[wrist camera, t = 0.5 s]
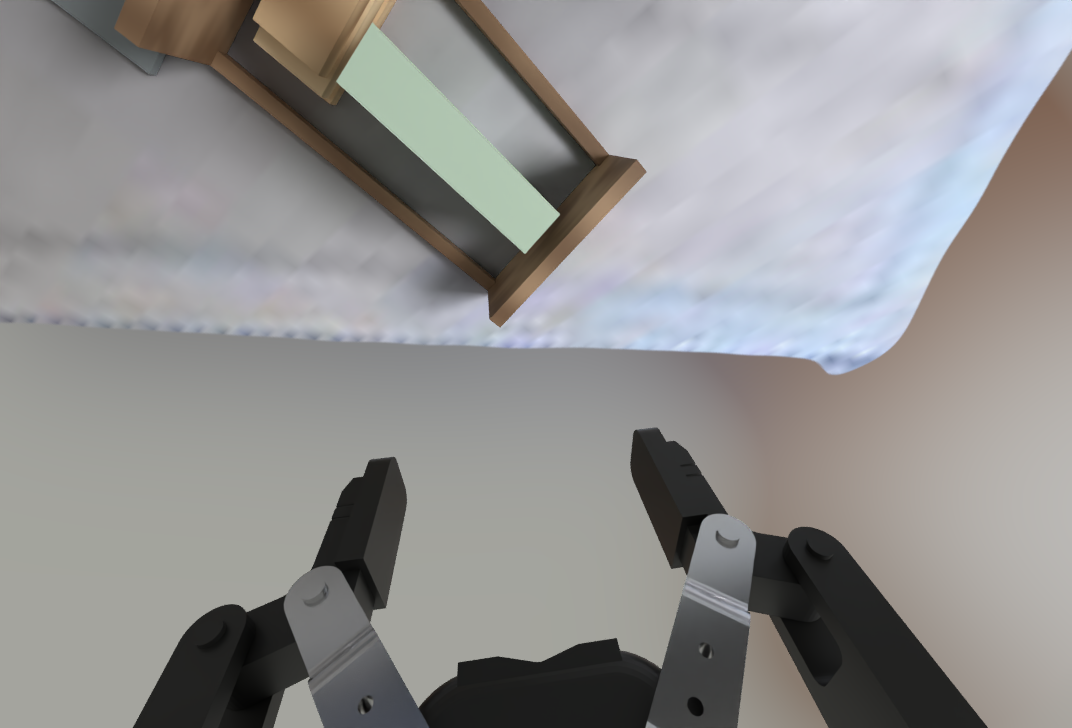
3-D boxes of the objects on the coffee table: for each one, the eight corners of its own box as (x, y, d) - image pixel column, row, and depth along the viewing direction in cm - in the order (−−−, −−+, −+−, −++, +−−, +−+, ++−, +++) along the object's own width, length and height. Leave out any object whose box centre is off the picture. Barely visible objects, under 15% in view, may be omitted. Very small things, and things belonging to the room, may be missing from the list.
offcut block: (335, -79, 23) (306, -123, 19) (402, -8, 25) (388, -35, 21) (271, 50, 25) (233, 35, 21) (337, 105, 27) (313, 101, 23)
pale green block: (406, 58, 26) (372, 22, 17) (537, 192, 31) (560, 214, 23) (381, 98, 27) (336, 81, 18) (512, 221, 32) (524, 253, 23)
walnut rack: (320, -189, 21) (255, -321, 15) (613, 164, 31) (646, 171, 25) (202, 54, 25) (114, 28, 19) (496, 294, 35) (500, 327, 29)
